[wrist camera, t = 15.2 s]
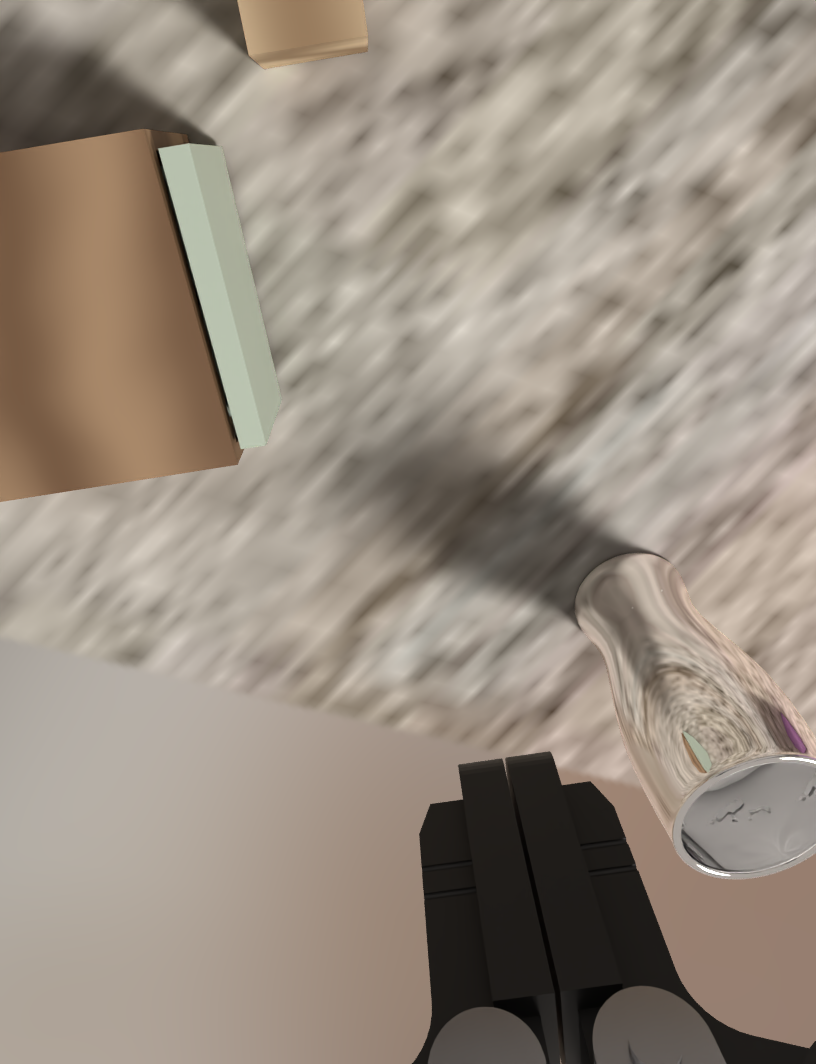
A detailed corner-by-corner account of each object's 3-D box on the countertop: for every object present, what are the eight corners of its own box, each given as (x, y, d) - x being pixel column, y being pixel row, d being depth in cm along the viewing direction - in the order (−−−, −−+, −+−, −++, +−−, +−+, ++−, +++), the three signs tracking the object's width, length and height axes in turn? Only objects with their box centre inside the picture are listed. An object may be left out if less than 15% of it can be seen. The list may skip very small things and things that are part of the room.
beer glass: (712, 602, 40) (886, 823, 27) (609, 669, 42) (722, 907, 28) (649, 520, 37) (807, 720, 24) (541, 595, 39) (632, 820, 26)
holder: (187, 134, 28) (143, 128, 22) (258, 414, 33) (237, 464, 28) (-110, 184, 28) (-225, 190, 23) (9, 453, 34) (-60, 511, 28)
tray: (221, 146, 28) (188, 143, 23) (281, 399, 33) (265, 445, 28) (-83, 197, 28) (-185, 205, 23) (22, 441, 33) (-43, 494, 28)
